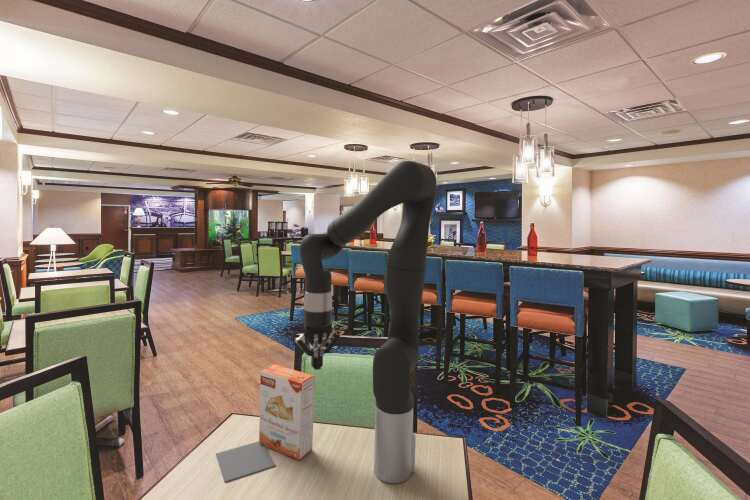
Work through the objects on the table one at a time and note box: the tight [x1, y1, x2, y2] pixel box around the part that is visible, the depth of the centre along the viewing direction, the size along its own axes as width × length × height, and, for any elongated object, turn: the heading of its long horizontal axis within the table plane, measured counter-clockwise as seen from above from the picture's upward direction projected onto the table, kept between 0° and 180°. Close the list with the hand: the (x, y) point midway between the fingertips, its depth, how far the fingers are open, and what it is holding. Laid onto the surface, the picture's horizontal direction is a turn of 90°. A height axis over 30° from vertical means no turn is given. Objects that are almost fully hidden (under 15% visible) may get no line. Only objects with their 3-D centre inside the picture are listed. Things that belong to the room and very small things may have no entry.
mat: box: [215, 440, 276, 483], centre depth 99 cm, size 12×12×1 cm
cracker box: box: [258, 363, 316, 461], centre depth 103 cm, size 14×6×21 cm, turn 62°
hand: (317, 368), depth 107 cm, fingers closed
